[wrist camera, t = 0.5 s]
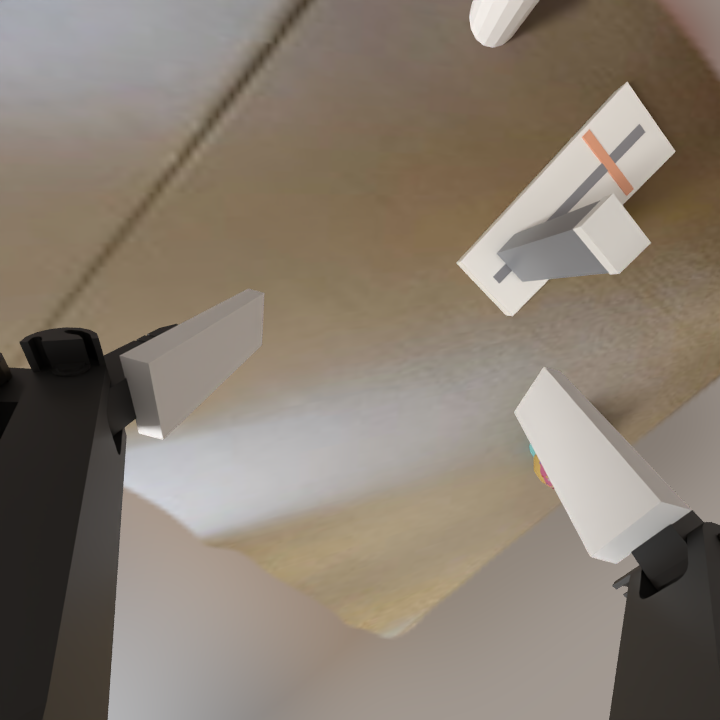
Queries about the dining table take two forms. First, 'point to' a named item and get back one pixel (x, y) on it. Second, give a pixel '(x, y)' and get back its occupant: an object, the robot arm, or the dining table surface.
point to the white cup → (498, 19)
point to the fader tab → (576, 243)
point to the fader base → (572, 189)
